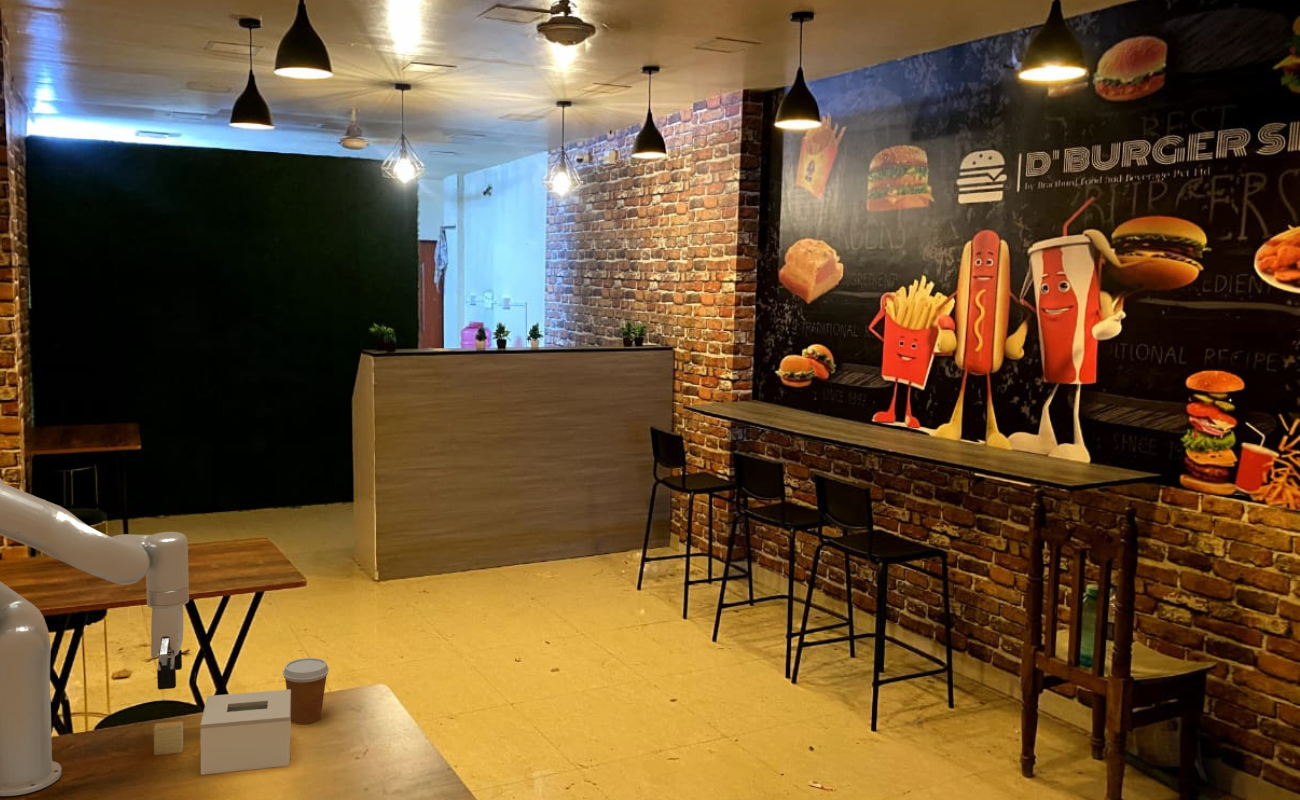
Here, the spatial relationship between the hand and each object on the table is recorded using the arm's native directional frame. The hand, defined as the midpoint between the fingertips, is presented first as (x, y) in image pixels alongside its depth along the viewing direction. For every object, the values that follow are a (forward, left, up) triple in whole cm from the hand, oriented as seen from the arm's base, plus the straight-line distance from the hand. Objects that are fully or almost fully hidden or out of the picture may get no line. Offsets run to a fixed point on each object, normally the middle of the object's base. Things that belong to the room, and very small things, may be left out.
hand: (170, 678), depth 203 cm
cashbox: (+15, -5, -15) cm, 22 cm away
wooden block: (0, 0, -15) cm, 15 cm away
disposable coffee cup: (+26, +10, -15) cm, 31 cm away
